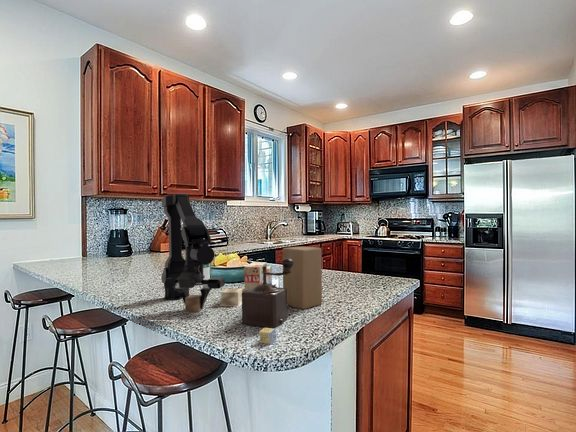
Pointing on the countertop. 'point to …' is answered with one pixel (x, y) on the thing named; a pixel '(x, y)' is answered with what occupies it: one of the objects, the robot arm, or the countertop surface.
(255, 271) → the stack of blocks
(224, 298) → the maple base block
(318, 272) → the wooden block
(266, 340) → the alphabet block
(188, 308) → the brown block
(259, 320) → the manual coffee grinder
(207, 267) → the syrup box
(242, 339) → the countertop surface
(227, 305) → the building mat
